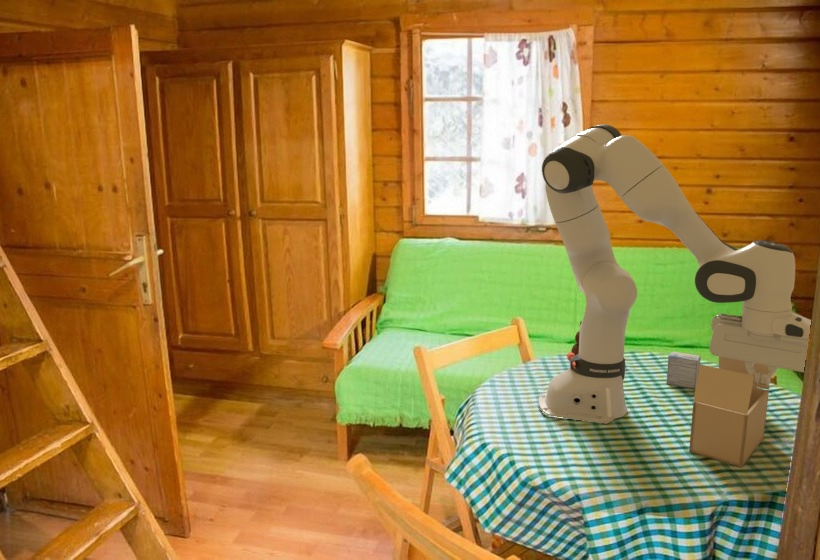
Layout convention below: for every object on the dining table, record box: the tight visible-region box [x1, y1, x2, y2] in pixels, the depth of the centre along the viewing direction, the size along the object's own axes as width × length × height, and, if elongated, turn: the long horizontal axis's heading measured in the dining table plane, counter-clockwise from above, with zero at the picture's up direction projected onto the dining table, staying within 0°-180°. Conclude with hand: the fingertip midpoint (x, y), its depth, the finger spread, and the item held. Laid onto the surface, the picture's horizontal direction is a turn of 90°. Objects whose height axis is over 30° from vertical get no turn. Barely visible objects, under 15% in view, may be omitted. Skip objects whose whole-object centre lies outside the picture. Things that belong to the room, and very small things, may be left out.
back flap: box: [718, 356, 771, 391], centre depth 150 cm, size 11×8×1 cm
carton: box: [688, 387, 770, 468], centre depth 147 cm, size 11×17×12 cm, turn 138°
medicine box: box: [666, 351, 701, 390], centre depth 182 cm, size 8×4×9 cm, turn 58°
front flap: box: [692, 363, 754, 414], centre depth 139 cm, size 11×8×1 cm
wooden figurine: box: [570, 320, 583, 355], centre depth 196 cm, size 7×6×15 cm
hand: (759, 383), depth 136 cm, fingers closed
